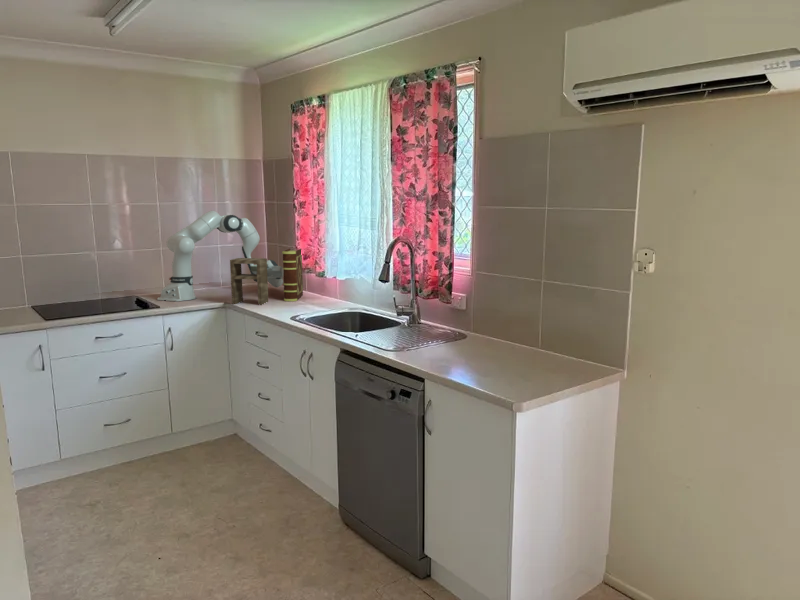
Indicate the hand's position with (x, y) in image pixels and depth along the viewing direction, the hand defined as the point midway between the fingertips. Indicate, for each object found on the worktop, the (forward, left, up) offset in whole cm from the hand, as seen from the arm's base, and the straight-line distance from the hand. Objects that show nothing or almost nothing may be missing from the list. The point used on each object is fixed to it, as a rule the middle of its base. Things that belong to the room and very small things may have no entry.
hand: (263, 265), depth 369 cm
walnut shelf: (0, -23, -20) cm, 30 cm away
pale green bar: (0, -6, -2) cm, 7 cm away
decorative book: (+20, -4, -20) cm, 29 cm away
